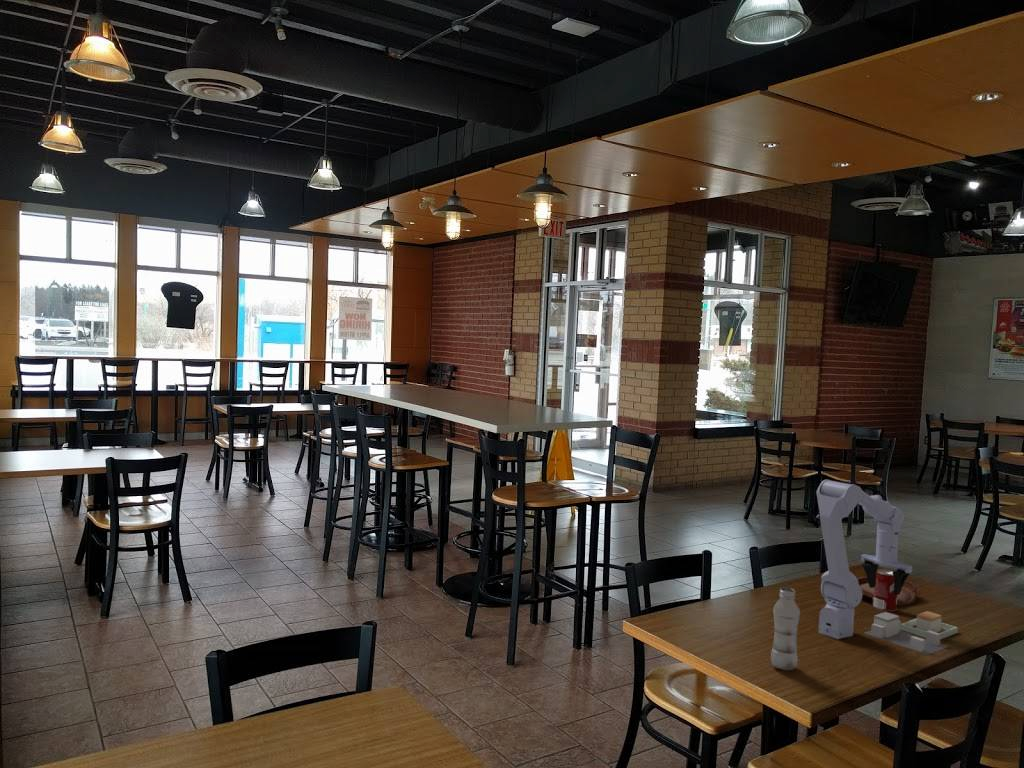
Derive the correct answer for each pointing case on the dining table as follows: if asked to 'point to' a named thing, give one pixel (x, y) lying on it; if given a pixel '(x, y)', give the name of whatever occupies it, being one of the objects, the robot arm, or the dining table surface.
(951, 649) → the dining table surface
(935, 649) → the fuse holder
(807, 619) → the dining table surface
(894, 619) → the block
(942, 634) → the tray
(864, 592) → the basket
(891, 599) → the soda can
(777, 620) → the plastic bottle
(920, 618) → the block
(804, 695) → the dining table surface
